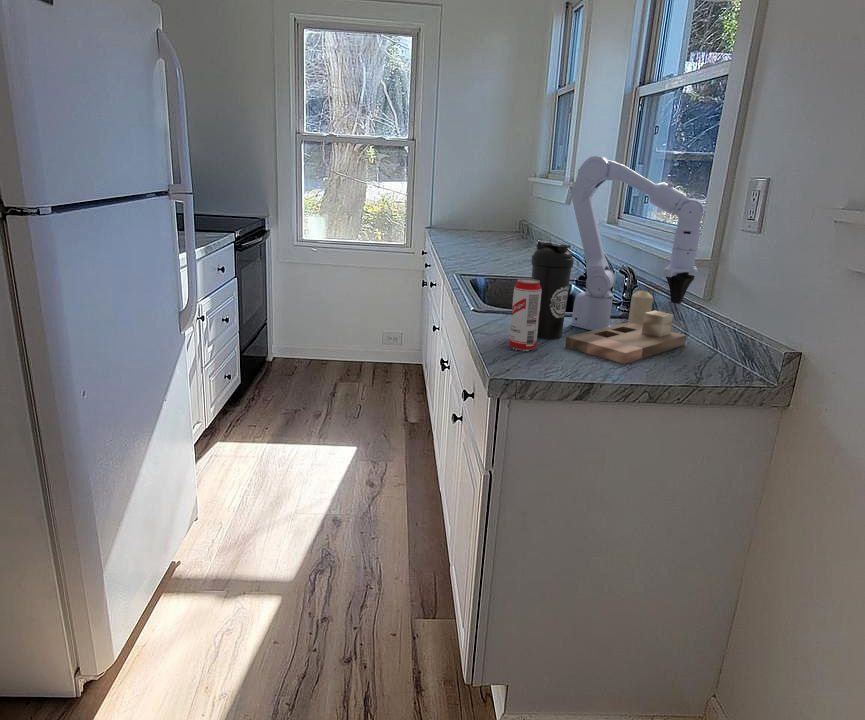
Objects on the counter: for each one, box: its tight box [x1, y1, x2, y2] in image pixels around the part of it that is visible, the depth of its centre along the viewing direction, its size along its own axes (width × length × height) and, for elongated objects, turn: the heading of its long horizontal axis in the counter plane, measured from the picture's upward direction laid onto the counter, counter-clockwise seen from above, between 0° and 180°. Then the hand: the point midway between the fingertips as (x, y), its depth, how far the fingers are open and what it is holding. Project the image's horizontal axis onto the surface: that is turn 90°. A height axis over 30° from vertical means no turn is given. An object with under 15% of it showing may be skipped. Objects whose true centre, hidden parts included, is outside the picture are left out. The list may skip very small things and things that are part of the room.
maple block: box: [642, 310, 674, 337], centre depth 161 cm, size 5×5×5 cm
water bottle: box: [530, 241, 575, 340], centre depth 162 cm, size 10×10×23 cm
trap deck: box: [565, 321, 687, 365], centre depth 158 cm, size 16×28×2 cm, turn 133°
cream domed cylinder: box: [627, 289, 654, 325], centre depth 177 cm, size 6×6×10 cm
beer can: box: [508, 278, 542, 351], centre depth 149 cm, size 6×6×16 cm
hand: (675, 302), depth 165 cm, fingers closed
